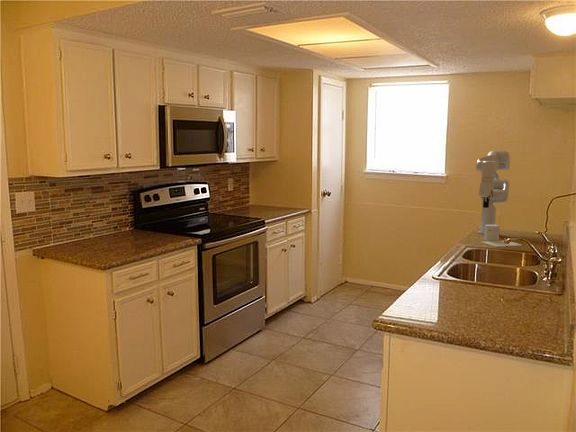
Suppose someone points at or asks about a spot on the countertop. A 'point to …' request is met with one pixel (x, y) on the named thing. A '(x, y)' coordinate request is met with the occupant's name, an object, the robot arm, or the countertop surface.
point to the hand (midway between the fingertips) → (485, 207)
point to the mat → (500, 244)
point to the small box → (491, 233)
